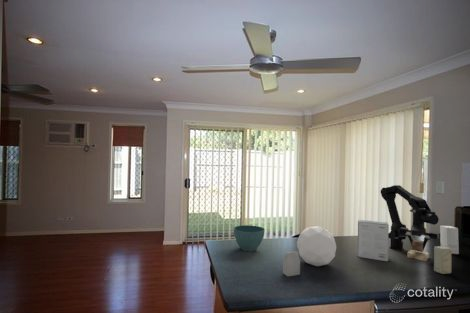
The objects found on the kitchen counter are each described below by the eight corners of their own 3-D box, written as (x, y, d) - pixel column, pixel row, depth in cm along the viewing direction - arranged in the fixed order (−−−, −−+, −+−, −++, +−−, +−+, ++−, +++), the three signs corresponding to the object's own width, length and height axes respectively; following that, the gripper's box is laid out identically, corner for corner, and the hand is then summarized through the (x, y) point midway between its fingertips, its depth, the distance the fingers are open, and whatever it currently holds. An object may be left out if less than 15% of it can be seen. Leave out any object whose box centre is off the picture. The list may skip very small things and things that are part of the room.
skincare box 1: (459, 254, 168) (459, 228, 169) (446, 253, 170) (446, 227, 170) (451, 250, 176) (451, 225, 177) (439, 249, 178) (439, 224, 178)
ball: (304, 276, 144) (284, 240, 152) (333, 258, 151) (312, 225, 159) (321, 270, 128) (297, 230, 136) (352, 250, 135) (327, 214, 143)
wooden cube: (412, 249, 160) (412, 241, 160) (413, 248, 164) (413, 239, 164) (422, 251, 157) (422, 242, 157) (423, 250, 160) (424, 241, 161)
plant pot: (228, 251, 159) (228, 229, 159) (239, 243, 176) (240, 223, 176) (258, 256, 152) (259, 233, 153) (267, 247, 169) (268, 227, 169)
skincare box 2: (442, 274, 135) (442, 248, 135) (433, 270, 139) (433, 246, 140) (451, 273, 137) (452, 248, 137) (442, 269, 141) (443, 245, 141)
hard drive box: (387, 257, 157) (388, 222, 158) (388, 262, 150) (389, 224, 151) (357, 253, 164) (358, 219, 165) (357, 256, 157) (357, 221, 158)
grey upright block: (299, 274, 129) (300, 252, 129) (287, 276, 126) (288, 254, 126) (294, 271, 132) (295, 250, 132) (282, 273, 129) (283, 251, 130)
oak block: (407, 257, 160) (407, 252, 160) (410, 254, 166) (410, 249, 167) (426, 262, 154) (426, 256, 154) (428, 258, 161) (428, 252, 161)
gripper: (396, 220, 161) (396, 247, 161) (436, 225, 149) (436, 255, 148) (401, 217, 169) (400, 243, 169) (439, 222, 157) (438, 250, 156)
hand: (418, 248), depth 160 cm, fingers closed on wooden cube, 5 cm apart
